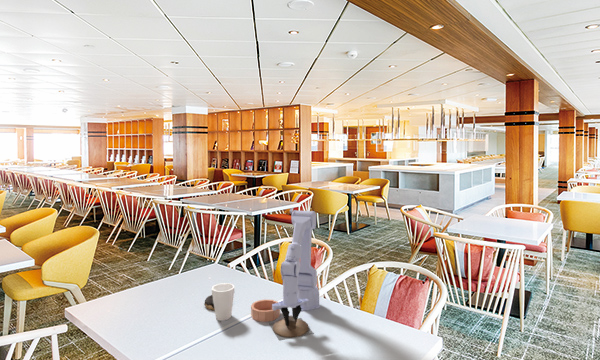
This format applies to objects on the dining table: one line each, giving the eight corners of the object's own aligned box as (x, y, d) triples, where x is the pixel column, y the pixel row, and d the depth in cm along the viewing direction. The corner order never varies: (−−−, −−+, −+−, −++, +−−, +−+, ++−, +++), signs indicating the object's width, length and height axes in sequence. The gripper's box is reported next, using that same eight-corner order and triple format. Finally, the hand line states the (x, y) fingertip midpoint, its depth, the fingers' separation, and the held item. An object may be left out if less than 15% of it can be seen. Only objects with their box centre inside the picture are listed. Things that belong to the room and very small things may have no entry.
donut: (232, 300, 175) (232, 292, 175) (225, 311, 163) (224, 302, 163) (209, 299, 176) (209, 291, 176) (200, 310, 165) (200, 302, 164)
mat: (300, 318, 156) (300, 317, 156) (313, 334, 143) (313, 333, 143) (268, 324, 151) (268, 323, 151) (279, 341, 138) (279, 340, 138)
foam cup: (229, 323, 152) (229, 292, 151) (208, 321, 154) (207, 290, 153) (238, 313, 161) (237, 284, 160) (218, 311, 163) (217, 282, 162)
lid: (300, 317, 156) (300, 308, 156) (313, 333, 143) (313, 323, 143) (268, 323, 151) (268, 314, 151) (279, 340, 138) (278, 329, 138)
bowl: (275, 307, 167) (275, 297, 166) (283, 319, 156) (283, 308, 155) (248, 312, 163) (248, 302, 162) (255, 324, 151) (255, 313, 151)
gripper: (275, 297, 140) (275, 332, 141) (311, 292, 145) (311, 326, 146) (270, 291, 146) (270, 324, 147) (304, 286, 151) (304, 318, 152)
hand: (290, 324), depth 147 cm, fingers closed on lid, 2 cm apart
